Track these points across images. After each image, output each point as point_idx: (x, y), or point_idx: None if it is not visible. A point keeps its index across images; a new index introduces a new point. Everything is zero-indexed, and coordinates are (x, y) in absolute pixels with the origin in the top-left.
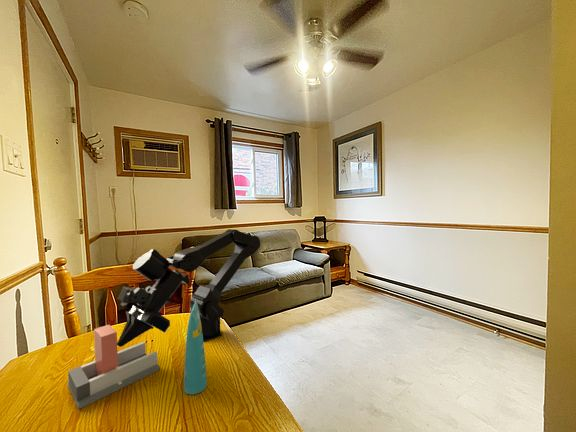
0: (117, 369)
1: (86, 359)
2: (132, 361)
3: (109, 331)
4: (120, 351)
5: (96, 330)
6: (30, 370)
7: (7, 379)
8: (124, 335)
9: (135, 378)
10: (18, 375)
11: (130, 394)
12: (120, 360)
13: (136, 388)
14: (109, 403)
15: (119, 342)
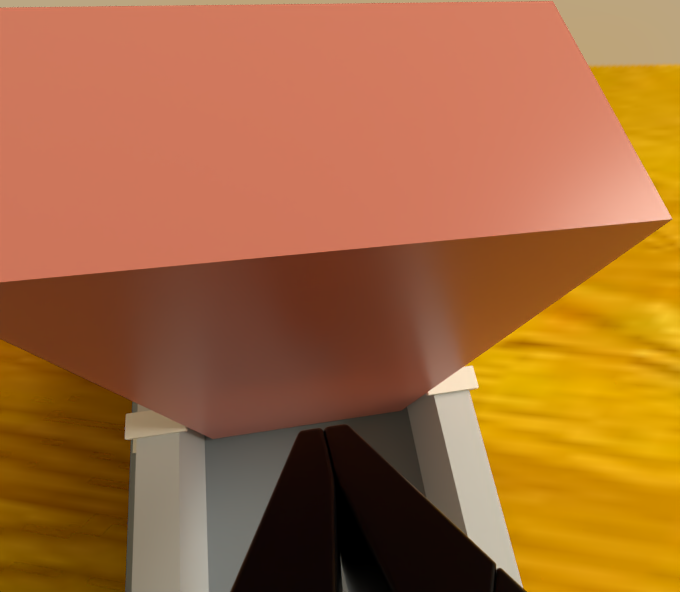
0: (126, 415)
1: (662, 313)
2: (167, 567)
3: (152, 160)
4: (480, 490)
5: (451, 13)
6: (667, 122)
7: (628, 70)
8: (266, 542)
9: (131, 555)
10: (643, 94)
11: (16, 490)
12: (432, 484)
13: (45, 540)
14: (51, 370)
15: (300, 450)
